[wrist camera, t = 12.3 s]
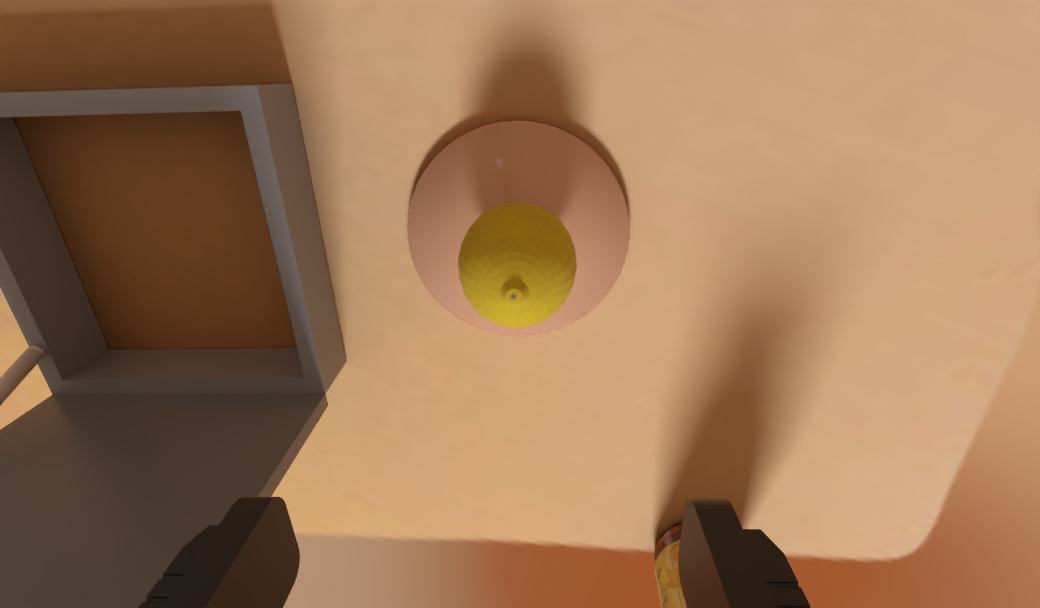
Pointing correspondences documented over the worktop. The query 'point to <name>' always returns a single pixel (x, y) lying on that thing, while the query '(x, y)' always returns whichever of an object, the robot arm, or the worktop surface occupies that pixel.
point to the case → (147, 376)
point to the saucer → (519, 178)
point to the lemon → (517, 264)
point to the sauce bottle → (669, 569)
